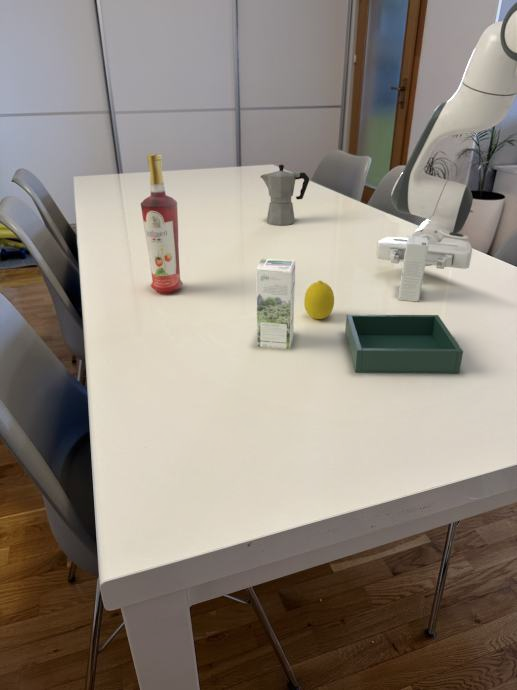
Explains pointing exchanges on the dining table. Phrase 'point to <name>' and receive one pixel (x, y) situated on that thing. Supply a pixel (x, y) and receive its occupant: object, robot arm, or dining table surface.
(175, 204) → the liquor
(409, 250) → the cosmetic box
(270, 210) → the coffeepot
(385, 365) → the bin
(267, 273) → the syrup box
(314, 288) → the lemon
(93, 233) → the dining table surface
